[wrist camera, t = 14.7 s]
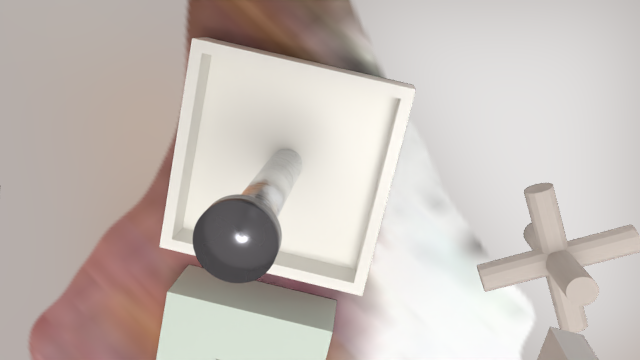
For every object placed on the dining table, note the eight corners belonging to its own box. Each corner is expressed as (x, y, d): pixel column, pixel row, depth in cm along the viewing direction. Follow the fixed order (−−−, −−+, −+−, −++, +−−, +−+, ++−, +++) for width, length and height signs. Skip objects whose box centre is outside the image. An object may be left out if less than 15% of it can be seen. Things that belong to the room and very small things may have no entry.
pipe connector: (451, 189, 43) (473, 235, 34) (590, 149, 42) (655, 186, 32) (486, 310, 45) (516, 386, 36) (620, 276, 44) (689, 346, 34)
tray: (206, 37, 42) (192, 38, 39) (412, 84, 42) (416, 89, 38) (175, 231, 46) (159, 247, 43) (363, 276, 46) (362, 295, 42)
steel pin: (264, 131, 42) (199, 192, 27) (319, 144, 42) (285, 213, 27) (254, 184, 44) (186, 271, 28) (307, 196, 43) (268, 292, 28)
